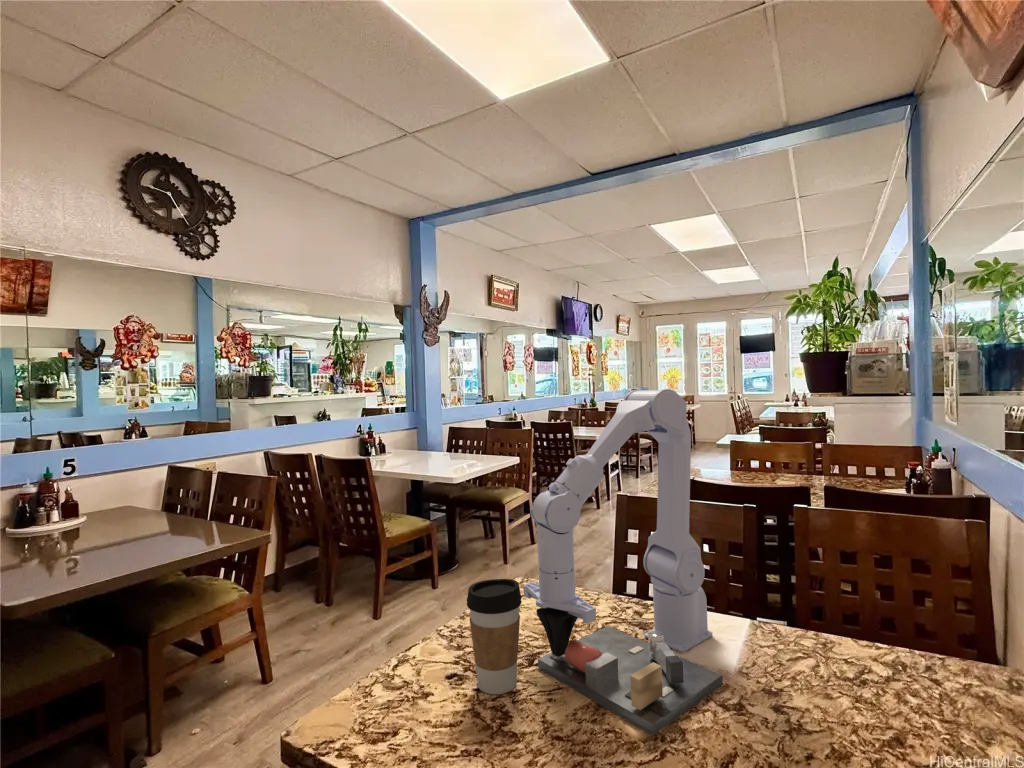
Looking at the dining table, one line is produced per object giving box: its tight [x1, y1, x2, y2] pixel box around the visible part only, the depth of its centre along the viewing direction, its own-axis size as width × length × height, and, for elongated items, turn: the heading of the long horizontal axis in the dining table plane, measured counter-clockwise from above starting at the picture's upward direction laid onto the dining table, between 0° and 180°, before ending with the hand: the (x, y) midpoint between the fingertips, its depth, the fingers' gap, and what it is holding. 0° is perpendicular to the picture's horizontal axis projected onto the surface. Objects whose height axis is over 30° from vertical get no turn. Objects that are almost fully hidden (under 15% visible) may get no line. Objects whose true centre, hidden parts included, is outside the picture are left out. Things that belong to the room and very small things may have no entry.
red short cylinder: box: [565, 639, 602, 673], centre depth 79 cm, size 4×5×4 cm
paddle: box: [630, 662, 663, 710], centre depth 71 cm, size 5×1×4 cm, turn 129°
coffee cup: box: [466, 578, 523, 695], centre depth 80 cm, size 8×8×15 cm
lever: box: [647, 631, 684, 684], centre depth 79 cm, size 9×2×4 cm, turn 6°
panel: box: [537, 625, 724, 736], centre depth 81 cm, size 17×22×5 cm
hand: (559, 653), depth 83 cm, fingers closed
